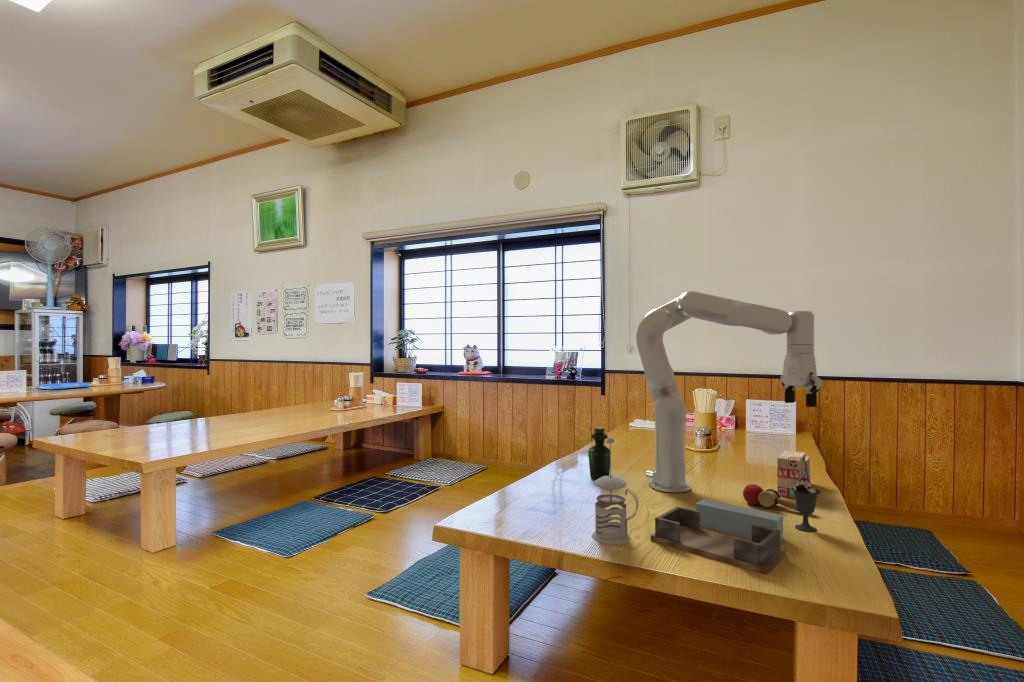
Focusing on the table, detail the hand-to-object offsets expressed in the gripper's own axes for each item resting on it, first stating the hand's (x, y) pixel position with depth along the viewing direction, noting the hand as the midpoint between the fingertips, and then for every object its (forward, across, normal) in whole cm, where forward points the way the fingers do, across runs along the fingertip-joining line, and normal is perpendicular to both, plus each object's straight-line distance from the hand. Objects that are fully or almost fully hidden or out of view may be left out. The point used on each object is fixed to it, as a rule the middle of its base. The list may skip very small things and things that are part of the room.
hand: (800, 404), depth 162 cm
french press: (+29, +23, -69) cm, 78 cm away
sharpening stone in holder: (+29, +33, -48) cm, 65 cm away
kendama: (+29, +10, -15) cm, 34 cm away
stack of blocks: (+29, -6, +3) cm, 30 cm away
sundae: (+29, +26, -18) cm, 43 cm away
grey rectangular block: (+29, +25, -36) cm, 53 cm away
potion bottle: (+29, -30, -56) cm, 70 cm away
